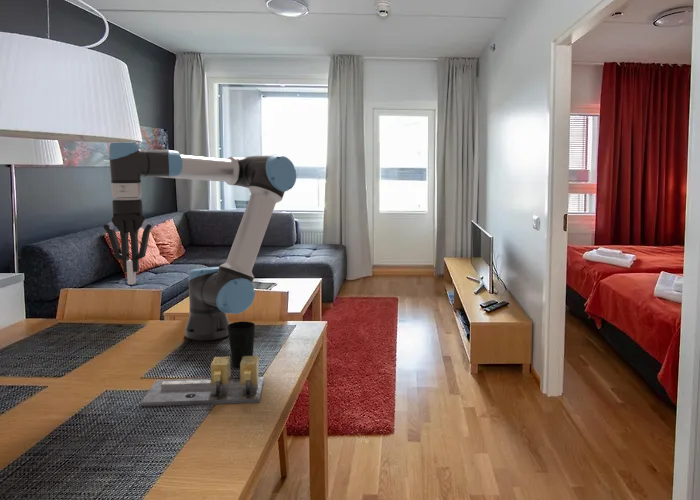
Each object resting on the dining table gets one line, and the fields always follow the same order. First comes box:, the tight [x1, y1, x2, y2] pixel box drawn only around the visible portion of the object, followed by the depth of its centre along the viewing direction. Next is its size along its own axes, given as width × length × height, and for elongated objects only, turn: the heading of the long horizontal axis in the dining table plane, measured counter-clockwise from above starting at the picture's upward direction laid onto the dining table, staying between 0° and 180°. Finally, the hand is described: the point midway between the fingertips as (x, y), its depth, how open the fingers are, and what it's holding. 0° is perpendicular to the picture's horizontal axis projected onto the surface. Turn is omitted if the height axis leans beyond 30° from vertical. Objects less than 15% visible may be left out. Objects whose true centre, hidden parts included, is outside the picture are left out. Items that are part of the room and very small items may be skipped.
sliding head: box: [210, 355, 232, 394], centre depth 137 cm, size 10×4×7 cm, turn 5°
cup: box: [228, 320, 256, 370], centre depth 157 cm, size 8×8×12 cm
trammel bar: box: [161, 355, 260, 395], centre depth 137 cm, size 10×24×7 cm, turn 95°
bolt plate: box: [140, 376, 265, 407], centre depth 138 cm, size 14×28×1 cm, turn 95°
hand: (132, 283), depth 152 cm, fingers closed
